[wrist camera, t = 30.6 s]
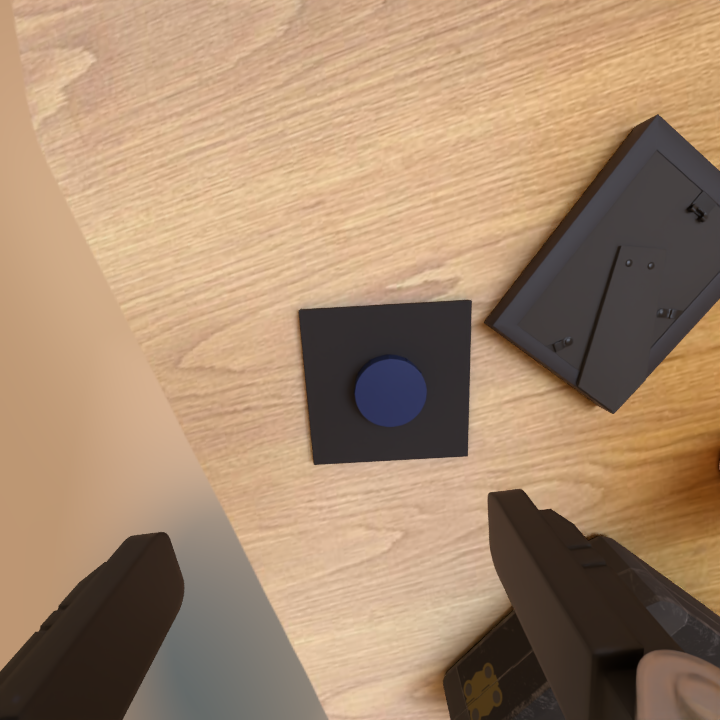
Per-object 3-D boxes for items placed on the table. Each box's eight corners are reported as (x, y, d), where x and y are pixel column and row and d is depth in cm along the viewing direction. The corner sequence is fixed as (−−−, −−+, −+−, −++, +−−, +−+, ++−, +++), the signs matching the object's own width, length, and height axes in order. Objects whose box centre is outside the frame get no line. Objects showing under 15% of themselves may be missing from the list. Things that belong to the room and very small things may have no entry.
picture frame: (597, 405, 30) (754, 232, 27) (616, 416, 28) (789, 229, 25) (483, 322, 28) (635, 124, 25) (493, 326, 26) (662, 110, 23)
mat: (314, 460, 32) (313, 465, 31) (299, 309, 28) (298, 310, 27) (465, 451, 31) (467, 456, 31) (468, 299, 28) (471, 300, 27)
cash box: (561, 748, 42) (607, 852, 34) (435, 676, 38) (454, 774, 31) (726, 619, 37) (820, 707, 29) (597, 525, 34) (665, 597, 26)
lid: (430, 362, 28) (435, 367, 27) (413, 424, 30) (416, 433, 28) (363, 347, 28) (363, 352, 27) (348, 411, 29) (348, 419, 28)
